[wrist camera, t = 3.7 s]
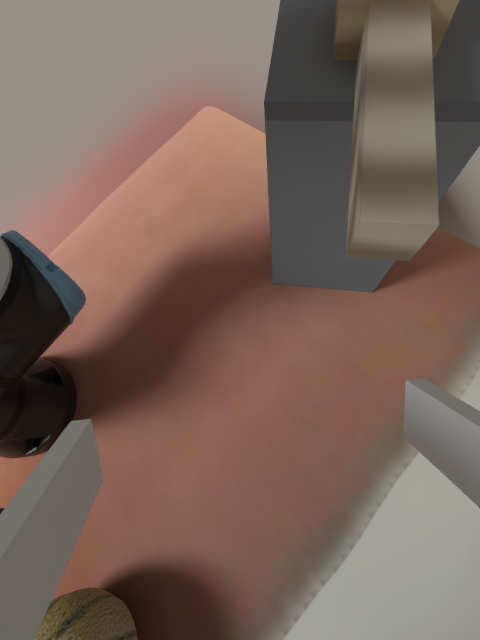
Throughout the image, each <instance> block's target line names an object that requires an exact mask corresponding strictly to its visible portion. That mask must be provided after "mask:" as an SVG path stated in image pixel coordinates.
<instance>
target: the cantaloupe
mask: <svg viewBox="0 0 480 640" xmlns="http://www.w3.org/2000/svg"><path fill="white" fill-rule="evenodd" d="M35 640H138V637H137V633H136V627H135V623H134V620H133V618H132V616H131V613H130V612H129V610H128V608H127V606H126V605H125V604H124V603H123V601H122V600H120V599H119V598H117V597H115V596H114V595H113V594H111V593H110V592H108V591H105V590H100V589H97V588H85V589H80V590H77V591H73V592H71V593H69V594H65V595H62V596H60V597H57V598H56V599H54V600H52V601H51V602H50V605H49V607H48V609H47V612H46V614H45V616H44V619H43V621H42V623H41V626H40V628H39V630H38V633H37V635H36V638H35Z"/></svg>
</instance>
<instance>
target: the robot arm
mask: <svg viewBox="0 0 480 640" xmlns="http://www.w3.org/2000/svg"><path fill="white" fill-rule="evenodd" d="M85 301H86V297H85V294H84V292H83V291H82V289H81V288H80V287H79V286H78V285H77V284H76V283H75V282H74V281H73V280H72V279H71V278H70V277H69V276H68V275H67V274H66V273H65V272H64V271H62V270H61V269H60V268H59V267H58V266H57V265H55V264H54V263H53V262H52V261H51V260H50V259H49V258H48V257H47V256H46V255H45V254H44V253H42V252H41V251H40V250H39V249H38V248H37V247H35V246H34V245H33V244H32V243H30V242H29V241H28V240H27V239H26V238H25V237H23V236H22V235H20V234H19V233H18V232H16V231H12V230H11V231H8V232H7V233H4V234H1V235H0V456H1V457H6V458H21V457H28V456H33V455H37V454H39V453H41V452H43V451H45V450H47V449H49V448H50V447H51V446H52V447H51V448H50V449H49V451H48V452H47V453H46V455H45V456H44V457H43V458H42V460H41V461H40V462H39V464H38V465H37V466H36V468H35V469H34V470H33V472H32V473H31V474H30V476H29V477H28V478H27V480H26V481H25V482H24V484H23V485H22V486H21V488H20V489H19V490H18V491H17V493H16V494H15V495H14V497H13V498H12V499H11V501H10V502H9V503H8V505H7V506H6V507H5V508H1V509H0V640H35V638H36V635H37V633H38V630H39V628H40V626H41V623H42V621H43V619H44V616H45V614H46V612H47V609H48V607H49V605H50V602H51V600H52V598H53V595H54V593H55V591H56V588H57V586H58V584H59V581H60V579H61V577H62V574H63V572H64V570H65V567H66V565H67V563H68V560H69V558H70V556H71V553H72V551H73V549H74V546H75V544H76V541H77V539H78V537H79V534H80V532H81V530H82V527H83V525H84V523H85V520H86V518H87V516H88V513H89V511H90V509H91V506H92V504H93V502H94V499H95V497H96V495H97V492H98V490H99V488H100V485H101V483H102V481H103V476H102V471H101V466H100V461H99V456H98V451H97V445H96V440H95V435H94V430H93V425H92V420H91V419H84V420H76V421H72V418H73V415H74V412H75V407H76V389H75V385H74V382H73V380H72V378H71V376H70V374H69V373H68V372H67V370H66V369H65V368H63V367H62V366H61V365H59V364H57V363H55V362H53V361H49V360H45V359H41V358H39V357H40V356H41V355H42V354H43V353H44V352H45V351H46V350H47V349H48V348H49V346H50V345H51V344H52V343H53V342H54V341H55V340H56V339H57V338H58V337H59V336H60V335H61V334H62V332H63V331H64V330H65V329H66V328H67V327H68V326H69V325H70V324H72V322H73V320H74V318H75V316H76V315H77V314H78V313H79V311H80V310H81V309H82V308H83V306H84V304H85ZM403 437H404V438H405V439H406V440H407V441H408V442H410V443H411V444H412V445H413V446H414V447H415V448H416V449H417V450H418V451H419V452H420V453H421V454H423V455H424V456H425V457H426V458H427V459H428V460H429V461H430V462H431V463H432V464H433V465H434V466H436V467H437V468H438V469H439V470H440V471H441V472H442V473H443V474H444V475H445V476H446V477H447V478H448V479H449V480H451V482H453V483H454V484H455V485H456V486H457V487H458V488H459V489H460V490H461V491H462V492H463V493H464V494H465V495H467V496H468V497H469V498H470V499H471V500H472V501H473V502H474V503H475V504H476V505H477V506H478V507H479V508H480V411H478V410H477V409H475V408H473V407H472V406H470V405H468V404H466V403H465V402H463V401H461V400H460V399H458V398H456V397H454V396H453V395H451V394H449V393H448V392H446V391H444V390H442V389H441V388H439V387H437V386H436V385H434V384H432V383H430V382H429V381H427V380H425V379H424V378H417V379H409V380H406V388H405V409H404V430H403Z"/></svg>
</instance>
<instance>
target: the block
mask: <svg viewBox="0 0 480 640" xmlns="http://www.w3.org/2000/svg"><path fill="white" fill-rule="evenodd" d="M458 2H459V0H337V6H336V18H335V30H334V41H333V53H332V61H339V60H357V63H356V81H355V99H354V117H353V136H352V154H351V172H350V190H349V209H348V227H347V245H346V257H355V258H369V259H383V260H398V261H410V260H411V259H412V258H413V257H414V256H415V254H416V253H417V252H418V251H419V249H420V248H421V247H422V246H423V244H424V243H425V242H426V241H427V240H428V238H429V237H430V236H431V235H432V233H433V232H434V231H435V230H436V229H437V227H438V226H439V213H438V186H437V161H436V136H435V110H434V85H433V59H435V56H436V54H437V52H438V49H439V47H440V45H441V42H442V40H443V38H444V35H445V33H446V31H447V28H448V26H449V24H450V21H451V19H452V17H453V14H454V12H455V10H456V7H457V5H458Z"/></svg>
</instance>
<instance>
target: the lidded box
mask: <svg viewBox="0 0 480 640" xmlns="http://www.w3.org/2000/svg"><path fill="white" fill-rule="evenodd" d="M336 6H337V0H281V1H280V7H279V13H278V20H277V26H276V32H275V38H274V45H273V52H272V57H271V64H270V69H269V75H268V82H267V88H266V94H265V100H264V107H265V129H266V151H267V173H268V194H269V216H270V238H271V260H272V281H273V284H283V285H294V286H306V287H318V288H329V289H341V290H353V291H365V292H374V290H375V289H376V287H377V286H378V285H379V283H380V282H381V281H382V279H383V278H384V276H385V275H386V274H387V272H388V271H389V270H390V268H391V267H392V265H393V264H394V263H395V261H396V260H383V259H369V258H355V257H346V245H347V227H348V209H349V190H350V172H351V154H352V136H353V117H354V99H355V81H356V63H357V60H339V61H332V53H333V41H334V30H335V18H336ZM433 85H434V110H435V136H436V161H437V186H438V202H439V201H440V199H441V198H442V197H443V195H444V194H445V192H446V191H447V190H448V188H449V187H450V186H451V184H452V183H453V181H454V180H455V179H456V177H457V176H458V175H459V173H460V172H461V170H462V169H463V168H464V166H465V165H466V163H467V162H468V161H469V159H470V158H471V157H472V155H473V154H474V153H475V151H476V150H477V148H478V147H479V146H480V0H459V2H458V5H457V7H456V10H455V12H454V14H453V17H452V19H451V21H450V24H449V26H448V28H447V31H446V33H445V35H444V38H443V40H442V42H441V45H440V47H439V49H438V52H437V54H436V56H435V59H433Z"/></svg>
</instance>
